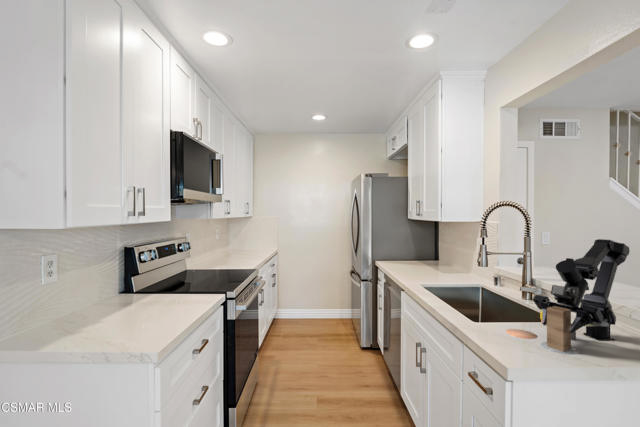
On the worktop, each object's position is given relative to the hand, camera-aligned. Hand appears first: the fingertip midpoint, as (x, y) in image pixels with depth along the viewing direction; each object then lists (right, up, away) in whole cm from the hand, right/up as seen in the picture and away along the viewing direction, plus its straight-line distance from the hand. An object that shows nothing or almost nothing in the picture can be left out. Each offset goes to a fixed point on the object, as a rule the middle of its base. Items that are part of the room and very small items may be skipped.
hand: (556, 328), depth 105 cm
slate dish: (+1, -8, +1) cm, 8 cm away
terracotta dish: (-3, -8, +13) cm, 16 cm away
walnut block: (+1, -7, +1) cm, 7 cm away
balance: (+12, -8, +8) cm, 17 cm away
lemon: (+15, -9, +25) cm, 31 cm away
